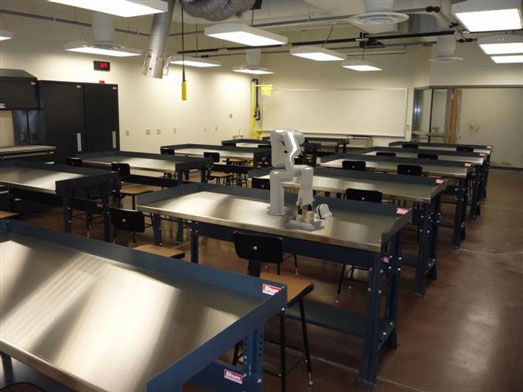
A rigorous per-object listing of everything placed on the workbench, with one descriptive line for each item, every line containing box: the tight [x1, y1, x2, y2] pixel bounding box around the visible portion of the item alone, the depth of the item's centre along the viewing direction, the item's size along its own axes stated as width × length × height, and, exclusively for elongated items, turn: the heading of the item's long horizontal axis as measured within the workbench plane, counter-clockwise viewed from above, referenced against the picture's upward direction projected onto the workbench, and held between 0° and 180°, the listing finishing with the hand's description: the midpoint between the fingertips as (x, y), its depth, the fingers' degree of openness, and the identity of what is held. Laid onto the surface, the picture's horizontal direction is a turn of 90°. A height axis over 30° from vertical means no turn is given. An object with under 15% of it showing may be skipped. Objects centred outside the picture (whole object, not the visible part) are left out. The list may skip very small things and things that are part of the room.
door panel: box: [296, 209, 316, 224], centre depth 284 cm, size 12×3×9 cm, turn 46°
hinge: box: [315, 203, 333, 221], centre depth 313 cm, size 17×5×10 cm, turn 155°
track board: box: [285, 215, 325, 233], centre depth 284 cm, size 20×14×5 cm
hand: (304, 213), depth 284 cm, fingers open, 9 cm apart
